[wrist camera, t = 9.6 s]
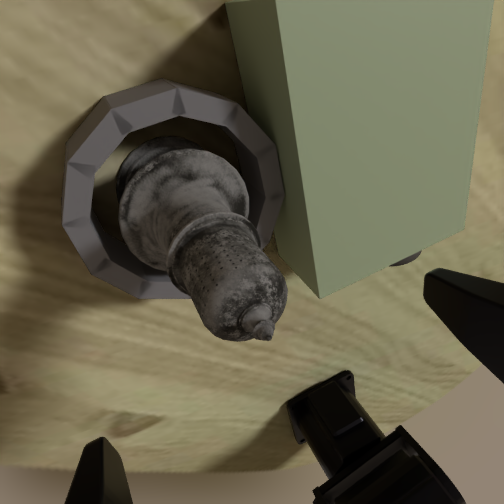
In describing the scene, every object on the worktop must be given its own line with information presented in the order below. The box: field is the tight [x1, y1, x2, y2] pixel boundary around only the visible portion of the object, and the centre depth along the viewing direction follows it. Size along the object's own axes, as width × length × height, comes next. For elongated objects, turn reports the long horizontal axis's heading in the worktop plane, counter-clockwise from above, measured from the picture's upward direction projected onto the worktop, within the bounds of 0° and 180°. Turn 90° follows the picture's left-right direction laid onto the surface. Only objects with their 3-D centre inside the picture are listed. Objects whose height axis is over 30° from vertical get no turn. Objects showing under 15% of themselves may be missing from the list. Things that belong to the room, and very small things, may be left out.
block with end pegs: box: [61, 0, 494, 299], centre depth 19 cm, size 17×20×5 cm
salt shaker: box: [116, 136, 288, 342], centre depth 15 cm, size 6×6×12 cm
